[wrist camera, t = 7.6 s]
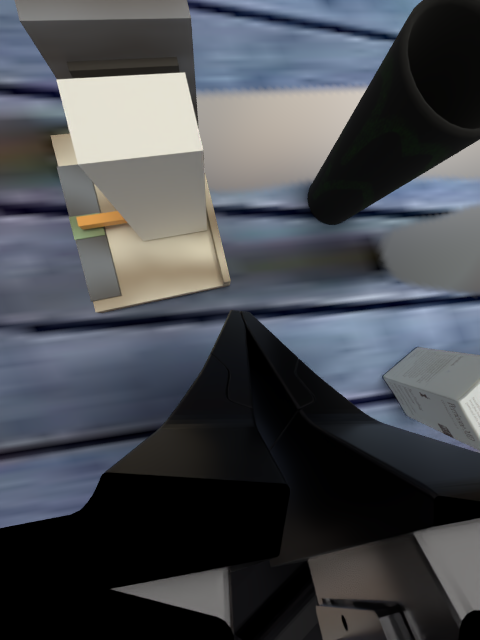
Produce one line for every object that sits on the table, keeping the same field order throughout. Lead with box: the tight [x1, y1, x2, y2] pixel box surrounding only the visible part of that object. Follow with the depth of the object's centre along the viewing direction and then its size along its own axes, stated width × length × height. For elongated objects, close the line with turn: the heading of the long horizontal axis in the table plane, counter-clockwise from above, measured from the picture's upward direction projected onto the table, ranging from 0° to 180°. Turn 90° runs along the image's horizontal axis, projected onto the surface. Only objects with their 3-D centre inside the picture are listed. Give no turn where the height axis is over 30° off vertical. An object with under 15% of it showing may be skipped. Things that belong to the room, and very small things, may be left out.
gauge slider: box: [57, 72, 207, 241], centre depth 14 cm, size 4×10×9 cm, turn 104°
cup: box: [308, 0, 480, 225], centre depth 16 cm, size 8×8×12 cm
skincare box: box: [383, 347, 480, 450], centre depth 20 cm, size 6×6×7 cm
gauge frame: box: [15, 0, 230, 313], centre depth 15 cm, size 16×12×10 cm
